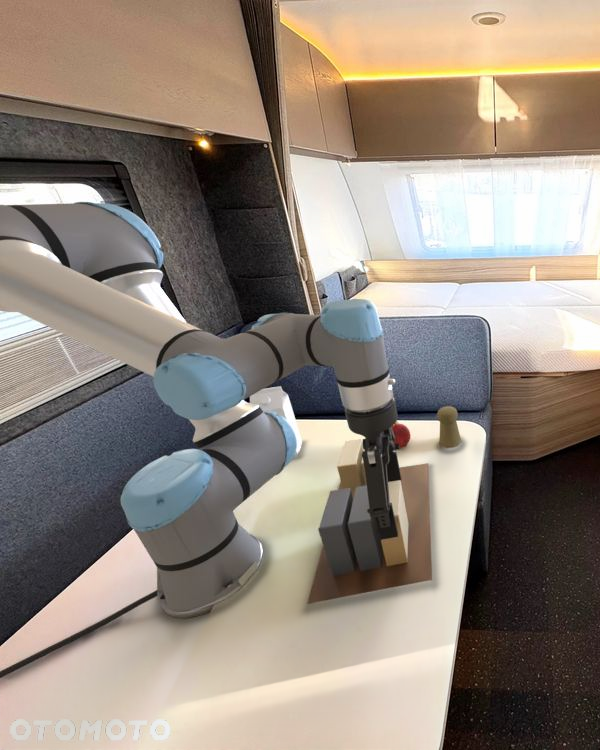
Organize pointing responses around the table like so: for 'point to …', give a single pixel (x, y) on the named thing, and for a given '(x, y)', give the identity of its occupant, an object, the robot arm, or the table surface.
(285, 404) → the milk carton
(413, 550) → the shelf board
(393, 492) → the cream book
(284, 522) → the table surface
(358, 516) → the grey rectangular block
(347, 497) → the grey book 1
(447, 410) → the olive pawn
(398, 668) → the table surface
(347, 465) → the cream book
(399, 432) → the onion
